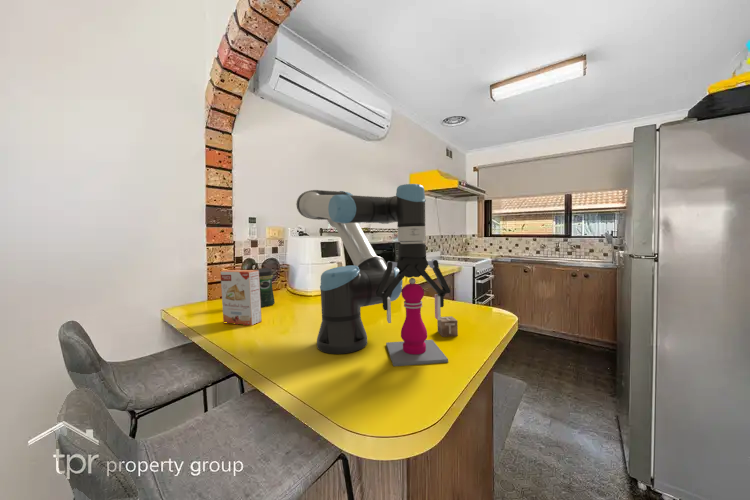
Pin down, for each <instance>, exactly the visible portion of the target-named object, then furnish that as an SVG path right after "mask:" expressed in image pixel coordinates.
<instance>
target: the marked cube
mask: <svg viewBox="0 0 750 500" xmlns="http://www.w3.org/2000/svg"><path fill="white" fill-rule="evenodd" d="M436 320H437V319H436ZM458 325H459V324H458V320H457V319H456V318H455V317H453V316H441V320H437V333H438V334H439V336H441V337H447V338H448V337H458V335H459V333H458Z"/></svg>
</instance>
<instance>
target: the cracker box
mask: <svg viewBox="0 0 750 500" xmlns="http://www.w3.org/2000/svg"><path fill="white" fill-rule="evenodd" d="M220 283H221V284H220V285H221V300H222V301H221V303H222V304H221V305H222V317H223V318H222V320H223V323H224V322H227V323H226V324H228V323H235V324H234V325H238V324H243V325H242V326H248V325H252V326H255V325H257V324H259V323H261V322H262V307H261V300H260V282H259V270H255V269H227V270H222V271H220ZM256 323H257V324H256ZM254 324H255V325H254Z"/></svg>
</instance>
